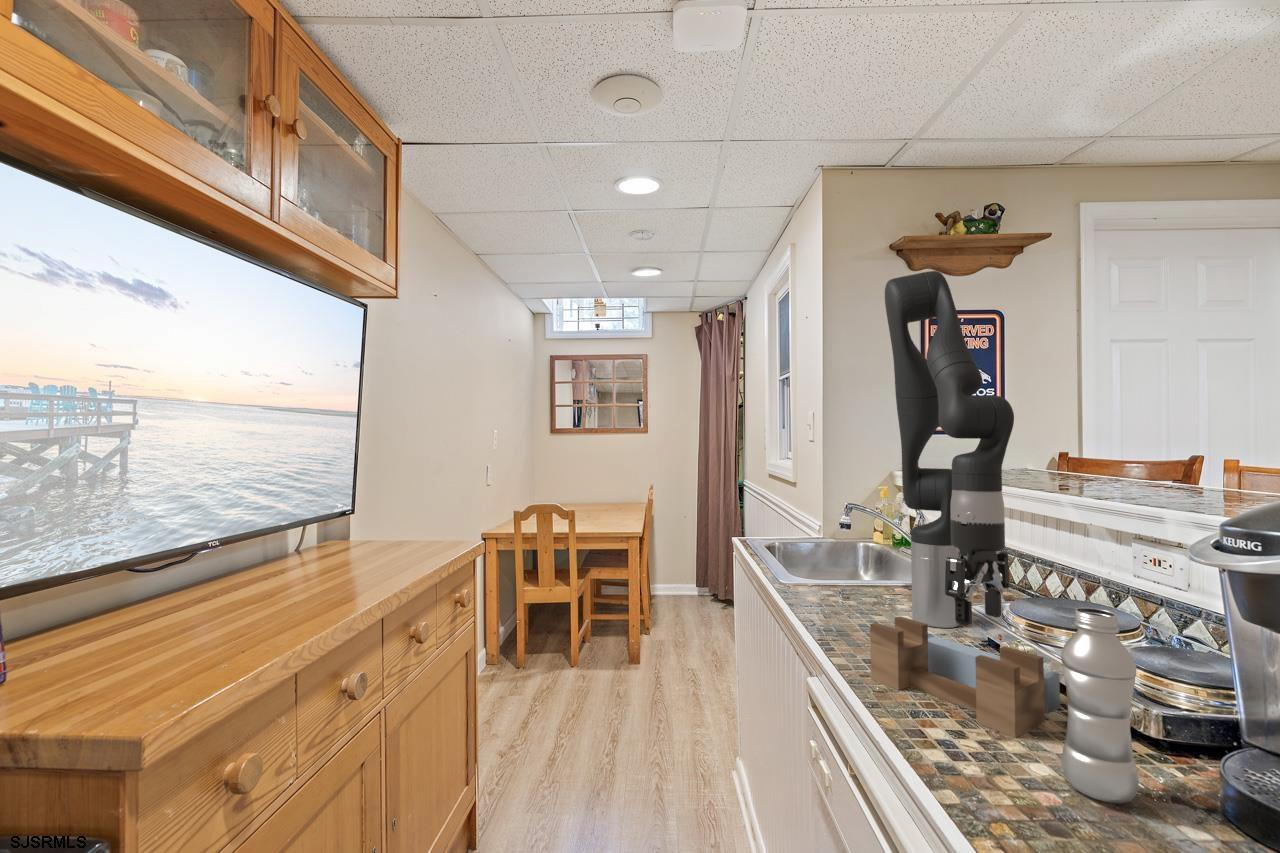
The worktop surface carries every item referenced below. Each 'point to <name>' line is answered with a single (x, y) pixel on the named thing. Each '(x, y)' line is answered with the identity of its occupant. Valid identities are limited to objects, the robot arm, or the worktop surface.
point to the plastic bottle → (1099, 709)
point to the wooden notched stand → (1001, 692)
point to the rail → (962, 668)
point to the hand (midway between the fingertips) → (978, 620)
